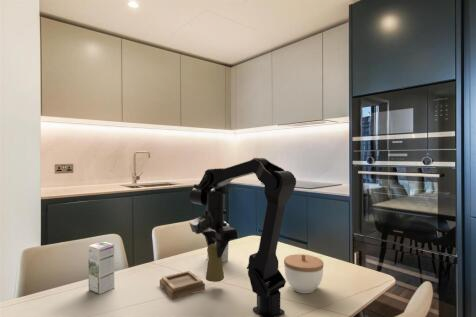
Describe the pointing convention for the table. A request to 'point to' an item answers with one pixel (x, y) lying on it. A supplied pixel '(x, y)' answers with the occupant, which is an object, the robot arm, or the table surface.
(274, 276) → the robot arm
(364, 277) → the table surface
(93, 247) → the syrup box
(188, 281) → the square wooden tray
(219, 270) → the olive pear-shaped figure
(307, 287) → the lidded bowl
